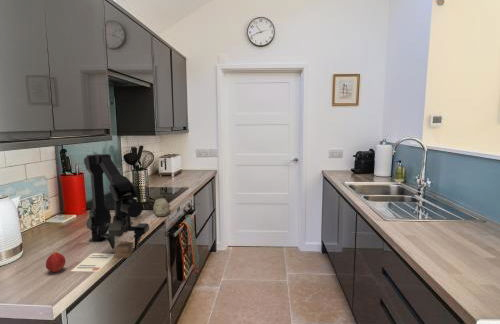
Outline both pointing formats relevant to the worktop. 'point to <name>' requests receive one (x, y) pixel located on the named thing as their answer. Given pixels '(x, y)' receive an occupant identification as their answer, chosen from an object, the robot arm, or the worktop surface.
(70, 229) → the worktop surface
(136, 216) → the robot arm
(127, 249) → the walnut block
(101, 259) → the letter
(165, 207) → the long grey stone
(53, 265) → the onion
